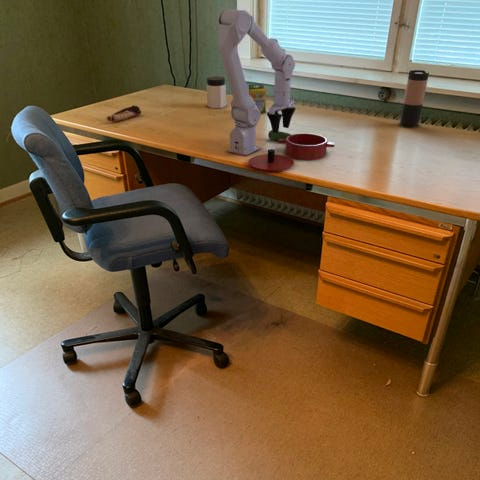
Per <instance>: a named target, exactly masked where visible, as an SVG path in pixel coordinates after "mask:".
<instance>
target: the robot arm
mask: <svg viewBox="0 0 480 480" xmlns="http://www.w3.org/2000/svg"><path fill="white" fill-rule="evenodd" d="M216 25H217V28H218V39H217V40H218V41H217V43H218V44H217V46H218V50H219V53H220V57H221V61H222V65H223V67H224V71H225V74H226V78H227V81H228V84H229V88H230V91H231V95H232V100H231V101H230V109H231V110H230V116H231V118H232V119H233V121H234V124H235V125H234V128H232V130H231V131H230V133H229V149H228V151H227V152H229V153H233V154H238V155H242V156H248V155H250V154H251V153H254V152H256V151H258V150H260V149H261V146H257V145H256V135H257V133H256V132H257V131H256V129H257V127H256V126H258V123H259V122H260V120H261V113H260V111H259V109H258V108H257V107H256V104H255V101H254V100H253V99H252V98H251V97H250V95H249V88H248V85H247V81H246V78H245V74H244V70H243V66H242V62H241V60H240V54H239V51H238V45H239V44H240V43H241V41H242V40H243V39H244V38H245V36H246V35H248V36H249V37H250V38H251V39H252V40H253V41H254V42H255V43H256V44H257V45H258V46H259V47H260V50H261V51H260V52H261V54H262V55H263V56H264V57H265V58H266V60H268V61H269V62H270V66H271V68H272V70H273V71H274V89H273V91H274V92H273V104H272V105H271V106H270V107H269V108H268V111H267V112H266V116H267V118H268V120H269V122H270V126H271V127H270V128H271V130H272V132H273V133H278V131H280V124H281V120H282V128H284V129H289V128H290V125H291V121H292V118H293V115H294V113H295V111H296V107H295V100H293V99H291V85H292V83H291V81H292V76H293V71H294V70H295V68H296V62H295V59H294V57H293V56H292V55H291V54H287V52H286V51H287V50H286V49H285V48H283V47H282V46H281V45H280V44H279V40H278V39H277V38H272V37H271V38H269V37H268V36H267V35H266V34H265V32H264V31H263V30H262V28H261V27H260V26H259V24H258V23H257V22H256V20H255V17H254V16H253V15H251V14H250V11H249V12H248V11H247V10H246V9H233V8H229V7H226V8H225V7H224V8H223V9H222V10H221V12H220V13H219V15H218V17H217V20H216ZM279 112H280V113H279Z"/></svg>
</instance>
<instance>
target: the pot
mask: <svg viewBox="0 0 480 480" xmlns="http://www.w3.org/2000/svg"><path fill="white" fill-rule="evenodd" d="M277 143H278V144H284V146H285V147H284V152H285V156H287V157H289V158H291V159H293V160H298V161H315V160H320V159H322V158H324V157H325V156H327V155H326V154H327V150H328V149H327V148H334V147H335V145H336V142H334V141H328V139H327V137H326V136H323V135H321V134H316V133H309V132H303V133H302V132H301V133H293V134H291V135H290V136H288V137H287V138H286V139H281V138H280V139H279V140H278V141H277Z"/></svg>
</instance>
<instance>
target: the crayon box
mask: <svg viewBox="0 0 480 480" xmlns="http://www.w3.org/2000/svg"><path fill="white" fill-rule="evenodd" d="M248 93H249V95H250V97H251V98H252V99H253V100H254V101H255V104H256V107H257V108H258V109H259V111H260V114H265V113H266V109H267V108H266V106H267V89H266V88H265V83H251V84H250V83H249V84H248Z"/></svg>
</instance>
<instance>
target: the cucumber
mask: <svg viewBox="0 0 480 480" xmlns="http://www.w3.org/2000/svg"><path fill="white" fill-rule="evenodd" d="M290 135H292V133H289V132H286V131H285V132H284V131H281V130H279V131H278V133H273V132H272V129H271V130H269V131H268V134H267V136H268V138H269V139H270V140H272V141H277V142H278V140H279V139H280V138H281V139H286V138H287V137H288V136H290Z"/></svg>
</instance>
